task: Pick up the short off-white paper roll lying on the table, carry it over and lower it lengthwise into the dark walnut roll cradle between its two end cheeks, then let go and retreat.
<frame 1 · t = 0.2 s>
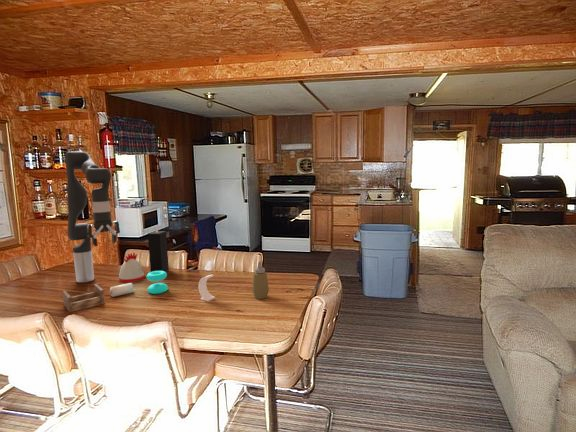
hand: (104, 244, 180), 28 cm above the table, tool pointing down, fingers open, 8 cm apart
black rectangular block: (159, 272, 230), on the table
roll cradle: (84, 304, 179), on the table
squeeze bottle: (260, 297, 182), on the table
white curved piece: (206, 299, 182), on the table
teal stacked discs: (158, 291, 195), on the table
paper roll: (122, 294, 192), on the table
beanie hat: (132, 278, 218), on the table
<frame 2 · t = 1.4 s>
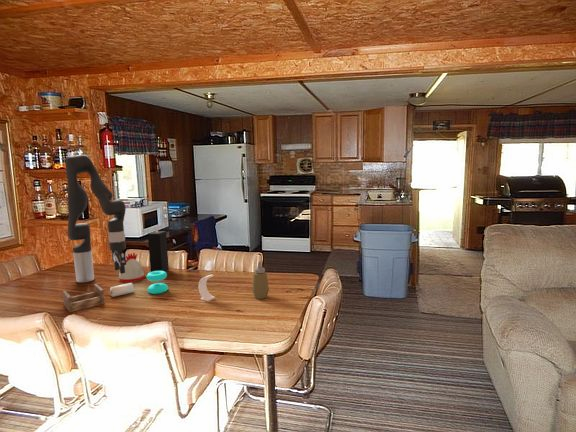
hand: (120, 271, 190), 12 cm above the table, tool pointing down, fingers open, 8 cm apart
nothing on the table moved.
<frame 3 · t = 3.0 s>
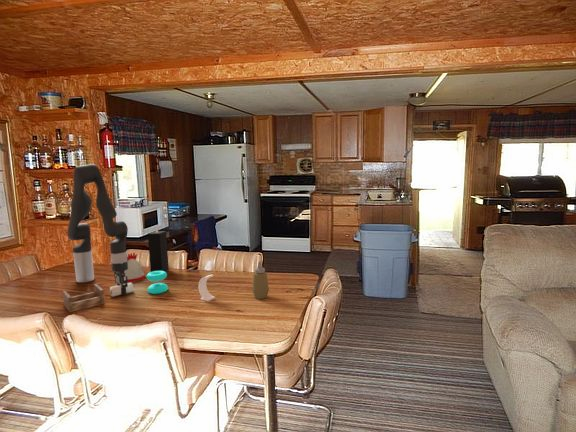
hand: (122, 293, 192), 1 cm above the table, tool pointing down, fingers closed on paper roll, 5 cm apart
paper roll: (122, 294, 192), on the table, touching gripper
everything else where it was.
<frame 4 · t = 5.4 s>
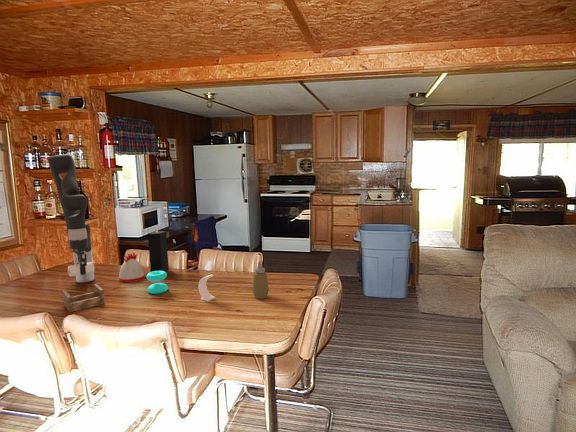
hand: (81, 273, 176), 15 cm above the table, tool pointing down, fingers closed on paper roll, 5 cm apart
paper roll: (81, 274, 177), point 15 cm above the table, touching gripper
everything else where it was.
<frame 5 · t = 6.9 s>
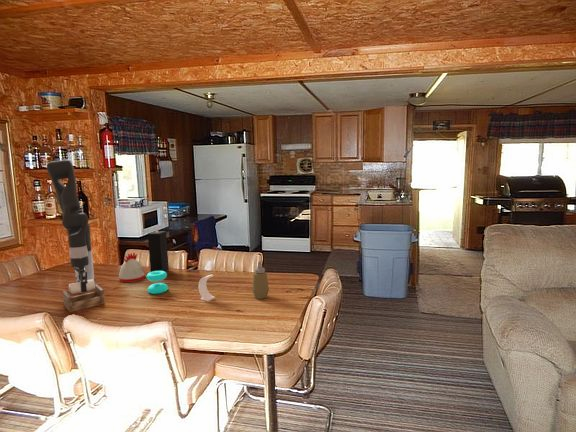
hand: (82, 290, 177), 7 cm above the table, tool pointing down, fingers closed on paper roll, 5 cm apart
paper roll: (82, 291, 177), point 6 cm above the table, touching gripper
everything else where it was.
when the fingers open (4 cm above the table, at t = 7.9 s): paper roll drops 3 cm, resting on roll cradle.
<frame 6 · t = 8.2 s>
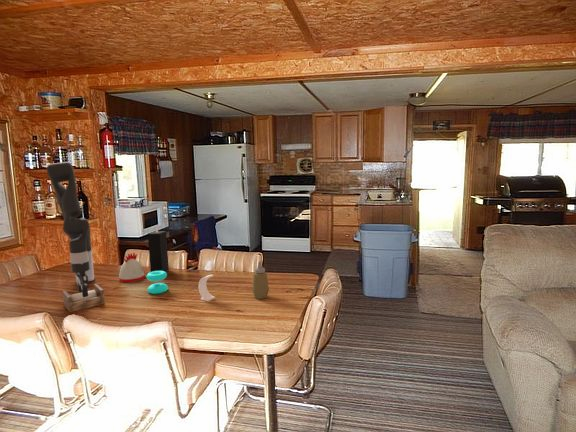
hand: (83, 294, 178), 5 cm above the table, tool pointing down, fingers open, 7 cm apart
paper roll: (84, 302, 178), point 1 cm above the table, touching roll cradle
everything else where it was.
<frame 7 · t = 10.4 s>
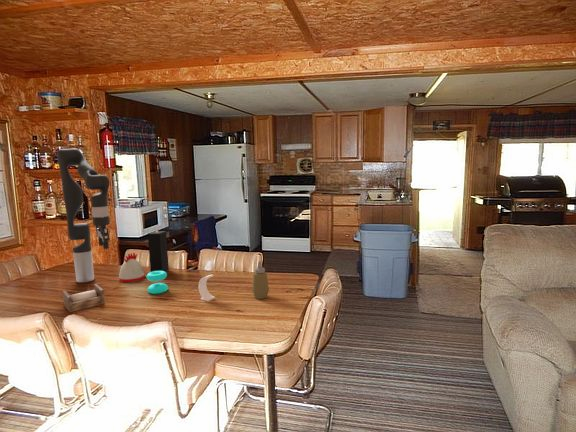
hand: (103, 247, 189), 25 cm above the table, tool pointing down, fingers open, 8 cm apart
nothing on the table moved.
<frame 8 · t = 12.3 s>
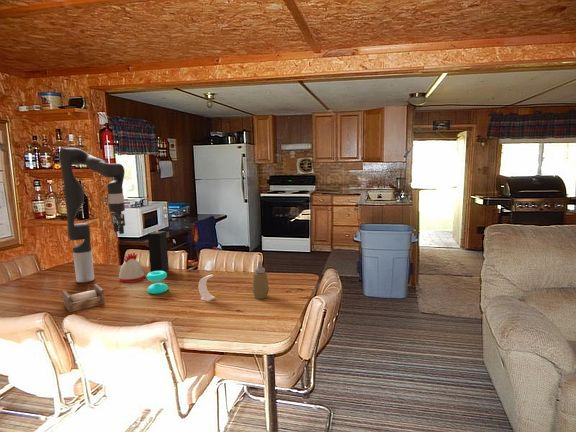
hand: (119, 232, 197), 30 cm above the table, tool pointing down, fingers open, 8 cm apart
nothing on the table moved.
at the end: paper roll inside the target area on the roll cradle (0.1 cm from its centre), point 1.0 cm above the roll cradle's base; the gripper is holding nothing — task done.
